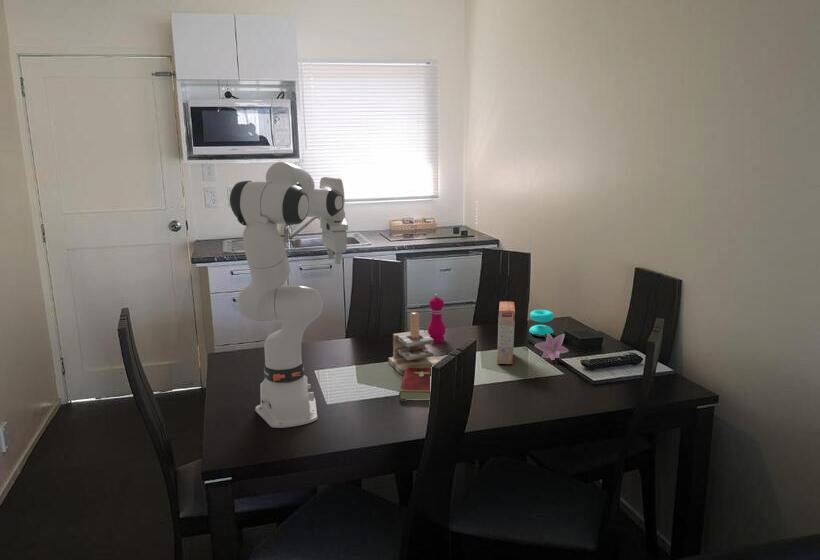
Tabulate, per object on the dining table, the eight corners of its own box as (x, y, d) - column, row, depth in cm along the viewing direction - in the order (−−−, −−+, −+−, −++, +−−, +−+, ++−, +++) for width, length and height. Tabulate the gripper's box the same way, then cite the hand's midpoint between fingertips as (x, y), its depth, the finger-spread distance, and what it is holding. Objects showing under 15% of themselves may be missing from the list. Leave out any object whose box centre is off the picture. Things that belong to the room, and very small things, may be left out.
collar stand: (443, 368, 228) (443, 340, 226) (401, 375, 222) (401, 345, 220) (427, 356, 241) (427, 329, 238) (388, 362, 235) (387, 334, 232)
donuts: (544, 316, 257) (524, 311, 264) (543, 340, 259) (524, 334, 267) (559, 312, 263) (539, 307, 271) (558, 335, 265) (539, 329, 273)
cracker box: (513, 366, 230) (515, 311, 226) (497, 365, 231) (498, 310, 226) (513, 353, 244) (515, 301, 239) (497, 352, 245) (499, 300, 240)
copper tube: (421, 361, 230) (420, 313, 226) (412, 362, 229) (412, 315, 225) (417, 358, 233) (417, 311, 229) (409, 359, 232) (408, 312, 228)
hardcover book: (399, 402, 201) (398, 389, 200) (405, 377, 221) (405, 366, 221) (436, 403, 200) (436, 390, 199) (439, 378, 220) (439, 367, 219)
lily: (531, 357, 242) (529, 340, 236) (554, 342, 245) (553, 325, 239) (552, 375, 233) (551, 358, 227) (576, 359, 237) (575, 342, 230)
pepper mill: (426, 343, 257) (425, 295, 252) (429, 337, 263) (429, 291, 259) (443, 344, 255) (443, 296, 250) (446, 338, 262) (446, 292, 257)
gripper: (317, 220, 230) (318, 257, 233) (331, 227, 212) (333, 267, 215) (333, 219, 233) (335, 255, 236) (349, 226, 214) (350, 265, 217)
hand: (334, 261), depth 225 cm, fingers open, 8 cm apart
